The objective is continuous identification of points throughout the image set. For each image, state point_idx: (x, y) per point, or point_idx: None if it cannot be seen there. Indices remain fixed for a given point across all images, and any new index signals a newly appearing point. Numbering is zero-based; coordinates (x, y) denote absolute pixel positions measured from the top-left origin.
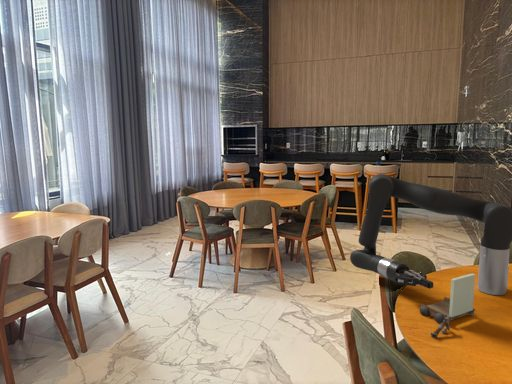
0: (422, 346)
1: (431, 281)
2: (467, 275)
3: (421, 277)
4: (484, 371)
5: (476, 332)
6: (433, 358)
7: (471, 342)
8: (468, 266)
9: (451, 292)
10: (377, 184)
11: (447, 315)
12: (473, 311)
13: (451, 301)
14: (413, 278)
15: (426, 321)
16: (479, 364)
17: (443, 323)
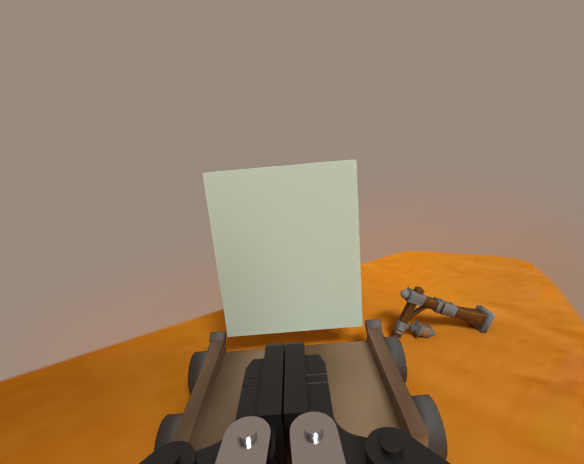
0: (546, 312)
1: (267, 349)
2: (249, 169)
3: (260, 445)
4: (430, 259)
5: None
6: (529, 285)
7: (375, 299)
8: None
9: (358, 221)
10: None
11: (346, 351)
12: (225, 336)
13: (358, 260)
14: (399, 461)
15: (447, 403)
16: (424, 266)
17: (431, 299)
